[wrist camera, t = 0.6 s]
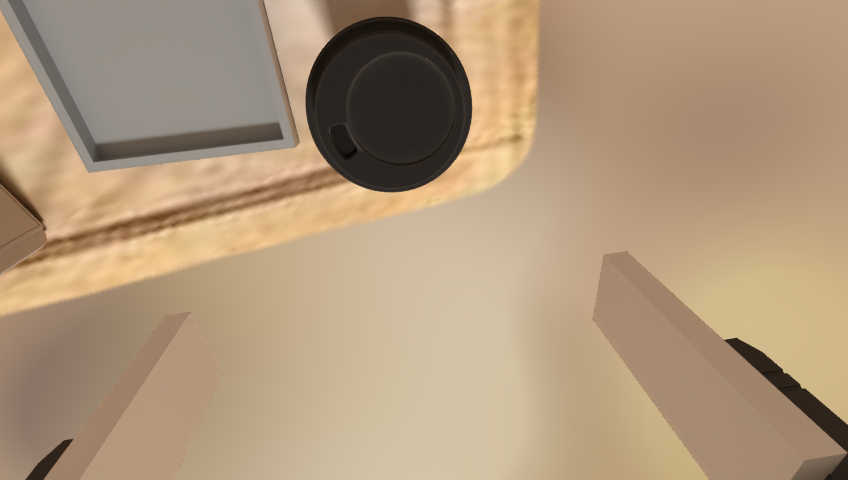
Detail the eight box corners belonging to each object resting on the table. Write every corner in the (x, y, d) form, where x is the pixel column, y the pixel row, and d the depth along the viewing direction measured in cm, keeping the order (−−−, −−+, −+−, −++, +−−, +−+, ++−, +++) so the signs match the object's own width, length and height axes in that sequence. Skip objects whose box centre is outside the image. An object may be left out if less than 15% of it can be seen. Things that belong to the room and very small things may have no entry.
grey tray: (-30, -87, 25) (-57, -95, 24) (234, -111, 26) (225, -121, 24) (102, 166, 34) (88, 172, 32) (299, 142, 34) (295, 147, 33)
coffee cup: (311, 97, 33) (264, 136, 20) (374, -2, 30) (368, -37, 17) (398, 161, 36) (408, 230, 23) (462, 77, 33) (515, 101, 20)
